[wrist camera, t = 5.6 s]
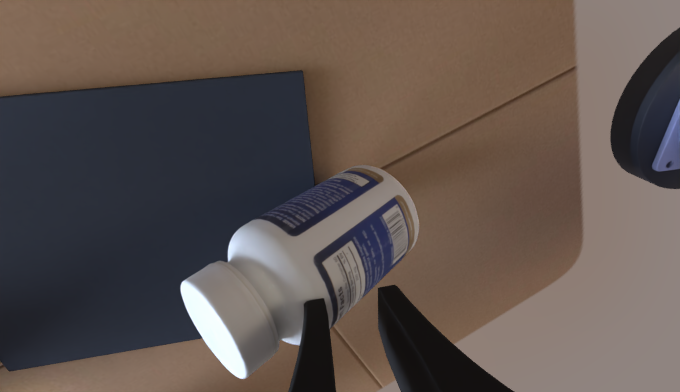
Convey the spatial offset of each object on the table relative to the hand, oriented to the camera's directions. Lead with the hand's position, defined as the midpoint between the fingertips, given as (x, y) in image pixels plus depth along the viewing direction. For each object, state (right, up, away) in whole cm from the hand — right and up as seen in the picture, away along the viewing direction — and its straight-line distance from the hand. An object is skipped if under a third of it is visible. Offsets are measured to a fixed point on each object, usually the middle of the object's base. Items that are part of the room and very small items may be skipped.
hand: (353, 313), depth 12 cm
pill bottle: (+2, +3, +6) cm, 7 cm away
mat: (-12, +2, +7) cm, 13 cm away
